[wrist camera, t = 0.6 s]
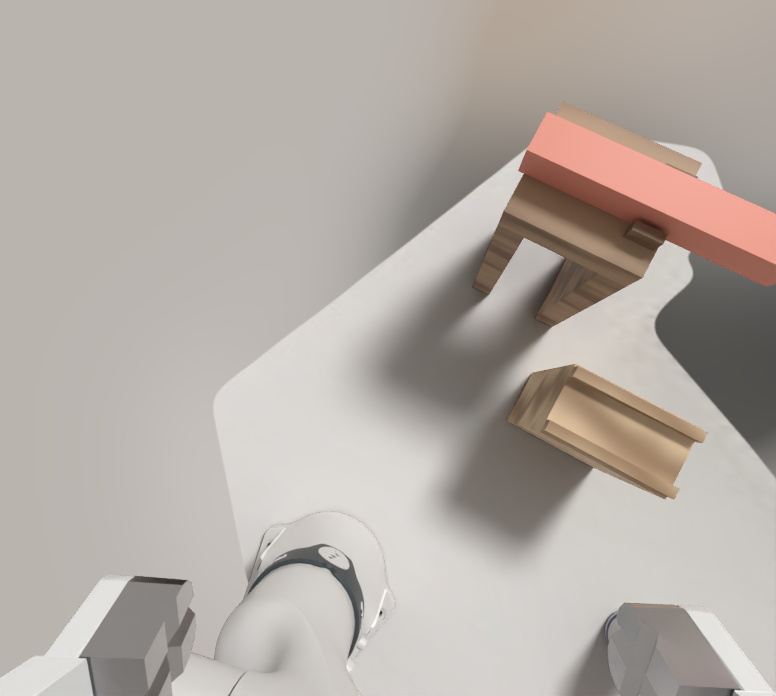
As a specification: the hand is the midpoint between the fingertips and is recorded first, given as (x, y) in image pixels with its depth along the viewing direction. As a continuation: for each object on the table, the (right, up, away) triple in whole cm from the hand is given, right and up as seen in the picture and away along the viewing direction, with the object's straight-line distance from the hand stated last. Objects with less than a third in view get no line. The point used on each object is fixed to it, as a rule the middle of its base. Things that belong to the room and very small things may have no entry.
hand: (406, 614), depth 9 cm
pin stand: (+18, +15, +53) cm, 58 cm away
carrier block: (+22, -4, +51) cm, 56 cm away
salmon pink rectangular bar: (+19, +16, +27) cm, 37 cm away
